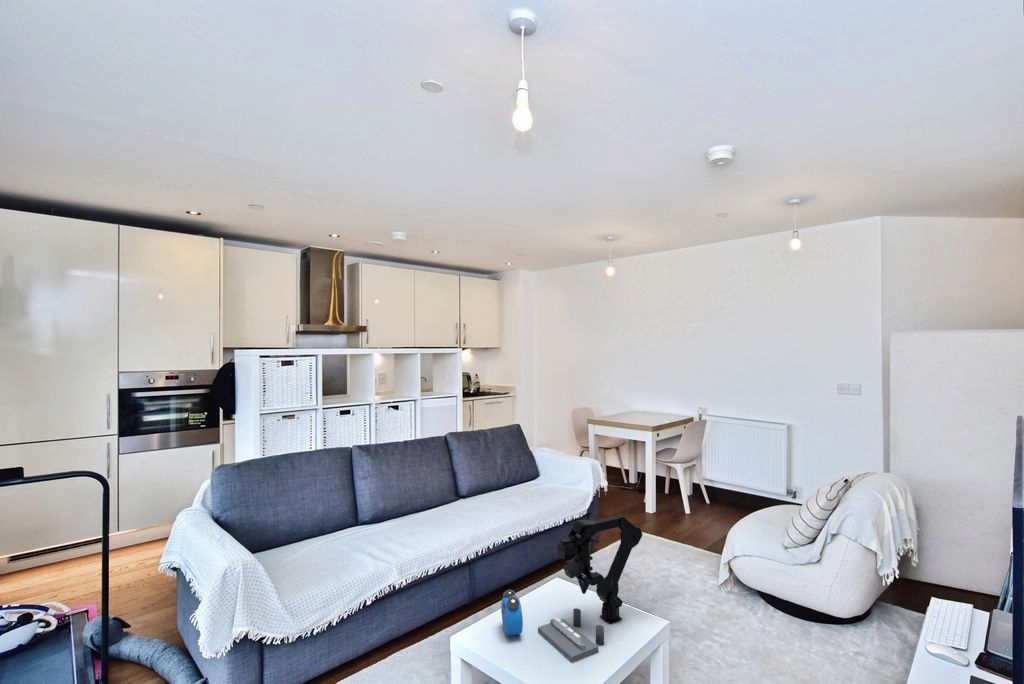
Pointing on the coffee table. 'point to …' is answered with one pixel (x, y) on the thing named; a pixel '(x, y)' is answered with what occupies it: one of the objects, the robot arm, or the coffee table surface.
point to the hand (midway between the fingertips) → (583, 593)
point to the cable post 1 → (577, 618)
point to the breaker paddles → (567, 631)
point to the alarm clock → (511, 614)
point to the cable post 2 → (599, 635)
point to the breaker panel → (568, 642)
